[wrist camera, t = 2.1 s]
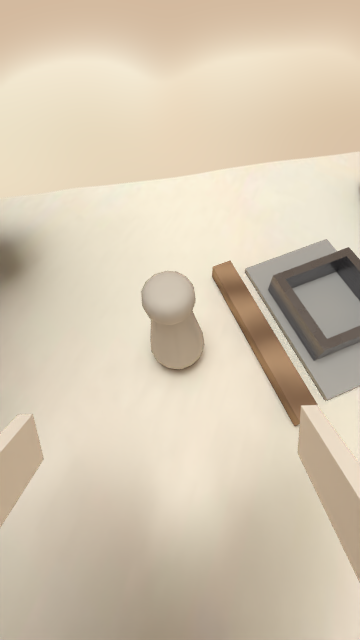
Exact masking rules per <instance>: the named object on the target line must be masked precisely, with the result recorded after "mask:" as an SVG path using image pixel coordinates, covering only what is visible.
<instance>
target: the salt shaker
mask: <svg viewBox="0 0 360 640" xmlns="http://www.w3.org/2000/svg"><path fill="white" fill-rule="evenodd" d="M141 295H142V306H143V308H144V310H145V312H146V313H147V315H148V316H149V318H150V319H151V352H152V353H153V355H154V356H155V358H156V360H157V361H158V362H159V363H161V364H162V365H164V366H166V367H167V368H172V369H183V368H185V367H188V366H191V365H192V364H193V363H194V362H195V361H196V360H197V359H198V358H199V357H200V356H201V353H202V350H203V347H204V339H203V333H202V331H201V329H200V326H199V324H198V322H197V320H196V318H195V316H194V313H193V311H192V310H193V307H194V304H195V292H194V287H193V284H192V283H191V282H190V281H189V279H188V278H187V277H186V276H184V275H182V274H180V273H178V272H173V271H164V272H161V273H158V274H154V275H153V276H152V277H151V278H150V279H148V280H147V281H146V282H145V285H144V287H143V289H142V291H141Z"/></svg>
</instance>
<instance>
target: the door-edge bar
mask: <svg viewBox="0 0 360 640" xmlns="http://www.w3.org/2000/svg"><path fill="white" fill-rule="evenodd" d="M212 277H213V279H214V281H215V282H216V284H217V286H218V288H219V290H220V291H221V293H222V295H223V297H224V299H225V301H226V302H227V304H228V306H229V308H230V310H231V311H232V313H233V315H234V317H235V319H236V321H237V322H238V324H239V326H240V328H241V330H242V332H243V333H244V335H245V337H246V339H247V341H248V342H249V344H250V346H251V348H252V350H253V352H254V353H255V355H256V357H257V359H258V361H259V362H260V364H261V366H262V368H263V370H264V372H265V373H266V375H267V377H268V379H269V381H270V383H271V384H272V386H273V388H274V390H275V392H276V393H277V395H278V397H279V399H280V401H281V403H282V404H283V406H284V408H285V410H286V412H287V413H288V415H289V417H290V419H291V421H292V423H293V424H294V426H296V425H299V424H300V413H301V406H302V405H317V403H316V401H315V400H314V398H313V396H312V395H311V393H310V391H309V390H308V388H307V386H306V385H305V383H304V381H303V380H302V378H301V377H300V375H299V373H298V372H297V370H296V368H295V367H294V365H293V363H292V362H291V360H290V358H289V357H288V355H287V353H286V352H285V350H284V348H283V347H282V345H281V343H280V342H279V340H278V339H277V337H276V335H275V334H274V332H273V330H272V329H271V327H270V325H269V324H268V322H267V320H266V319H265V317H264V315H263V314H262V312H261V310H260V309H259V307H258V306H257V304H256V302H255V301H254V299H253V297H252V296H251V294H250V292H249V291H248V289H247V287H246V286H245V284H244V282H243V281H242V279H241V277H240V276H239V274H238V272H237V271H236V269H235V268H234V266H233V264H232V263H231V261H228V262H225V263H222V264H219V265H217V266H214V267H213V271H212Z"/></svg>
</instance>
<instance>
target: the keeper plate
mask: <svg viewBox="0 0 360 640" xmlns="http://www.w3.org/2000/svg"><path fill="white" fill-rule="evenodd" d="M245 273H246V274H247V276H248V277H249V279H250V281H251V282H252V284H253V285H254V287H255V289H256V290H257V292H258V293H259V295H260V297H261V298H262V300H263V301H264V303H265V305H266V306H267V308H268V309H269V311H270V313H271V314H272V316H273V318H274V319H275V321H276V322H277V324H278V326H279V327H280V329H281V330H282V332H283V334H284V335H285V337H286V338H287V340H288V342H289V343H290V345H291V346H292V348H293V350H294V351H295V353H296V354H297V356H298V358H299V359H300V361H301V363H302V364H303V366H304V367H305V369H306V371H307V372H308V374H309V375H310V377H311V379H312V380H313V382H314V383H315V385H316V387H317V388H318V390H319V391H320V393H321V395H322V396H323V398H324V399H325V401H326V400H328V399H331V398H333V397H335V396H338V395H340V394H342V393H345V392H347V391H349V390H351V389H354V388H356V387H358V386H360V259H359V258H358V257H357V256H356V255H355V254H354V253H353V252H352V250H351V249H350V248H349V247H348V248H346V249H343V250H340V251H336V250H335V248H334V247H333V246H332V245H331V244H330V242H329V241H328V240H327V239H326V240H323V241H320V242H317V243H315V244H312V245H309V246H306V247H303V248H301V249H298V250H295V251H292V252H290V253H287V254H284V255H281V256H279V257H276V258H273V259H270V260H268V261H265V262H262V263H259V264H257V265H254V266H251V267H248V268H246V269H245Z"/></svg>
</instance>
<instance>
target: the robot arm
mask: <svg viewBox="0 0 360 640" xmlns="http://www.w3.org/2000/svg"><path fill="white" fill-rule="evenodd" d="M298 455H299V457H300V459H301V461H302V463H303V465H304V467H305V469H306V472H307V474H308V476H309V478H310V480H311V482H312V484H313V486H314V488H315V490H316V492H317V495H318V497H319V499H320V501H321V503H322V505H323V507H324V509H325V511H326V513H327V515H328V517H329V520H330V522H331V524H332V526H333V528H334V530H335V532H336V534H337V536H338V538H339V540H340V543H341V545H342V547H343V549H344V551H345V553H346V555H347V557H348V559H349V561H350V563H351V566H352V568H353V570H354V572H355V574H356V576H357V578H358V580H359V582H360V463H359V462H358V461H357V459H356V458H355V456H354V455H353V454H352V452H351V451H350V449H349V448H348V447H347V445H346V444H345V442H344V441H343V440H342V438H341V437H340V436H339V434H338V433H337V431H336V430H335V429H334V427H333V426H332V424H331V423H330V422H329V420H328V419H327V418H326V416H325V415H324V413H323V412H322V411H321V409H320V408H319V406H318V405H302V406H301V413H300V427H299V440H298ZM43 459H44V458H43V454H42V450H41V446H40V442H39V438H38V434H37V430H36V425H35V421H34V417H33V414H20V415H17V416H16V417H15V418H14V419H13V420H12V421H11V422H10V424H9V425H8V426H7V427H6V428H5V429H4V430H3V431H2V432H1V433H0V527H1V526H2V524H3V522H4V521H5V519H6V518H7V516H8V515H9V513H10V511H11V510H12V508H13V507H14V505H15V504H16V502H17V500H18V499H19V497H20V496H21V494H22V492H23V491H24V489H25V488H26V486H27V485H28V483H29V481H30V480H31V478H32V477H33V475H34V474H35V472H36V470H37V469H38V467H39V466H40V464H41V462H42V461H43Z"/></svg>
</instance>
